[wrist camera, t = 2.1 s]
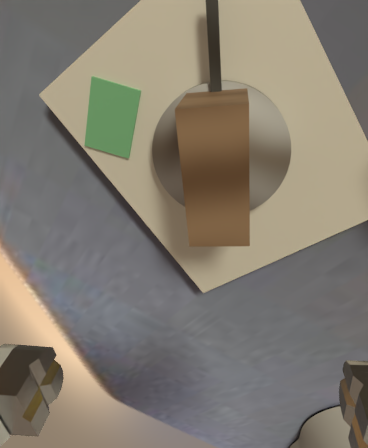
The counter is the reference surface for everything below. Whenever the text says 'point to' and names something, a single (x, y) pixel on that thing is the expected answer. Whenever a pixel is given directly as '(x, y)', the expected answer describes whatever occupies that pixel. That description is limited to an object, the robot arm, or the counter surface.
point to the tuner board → (199, 73)
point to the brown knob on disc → (220, 152)
